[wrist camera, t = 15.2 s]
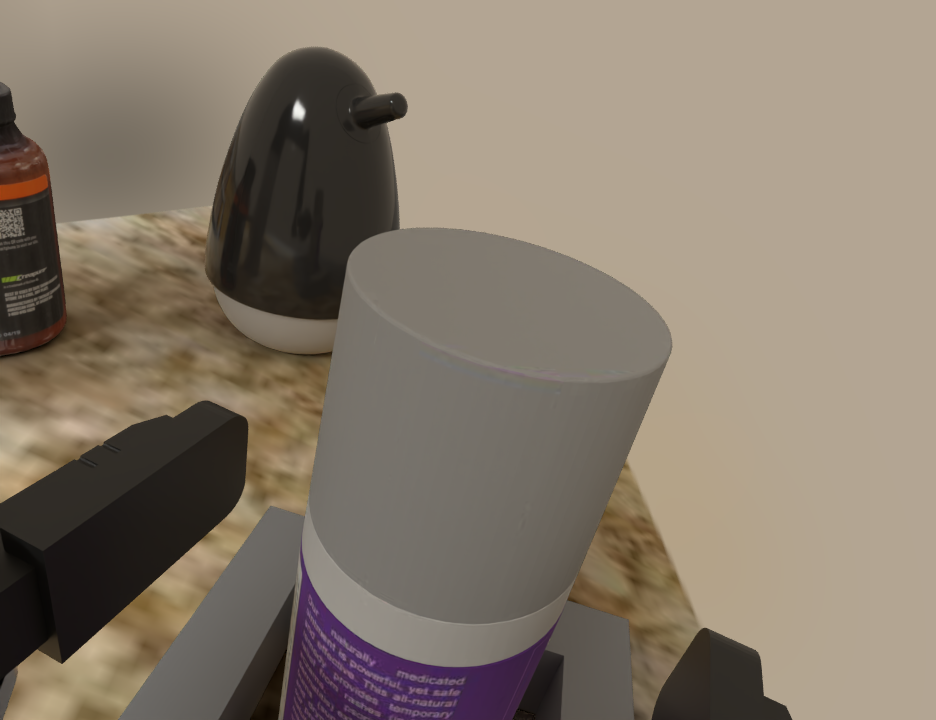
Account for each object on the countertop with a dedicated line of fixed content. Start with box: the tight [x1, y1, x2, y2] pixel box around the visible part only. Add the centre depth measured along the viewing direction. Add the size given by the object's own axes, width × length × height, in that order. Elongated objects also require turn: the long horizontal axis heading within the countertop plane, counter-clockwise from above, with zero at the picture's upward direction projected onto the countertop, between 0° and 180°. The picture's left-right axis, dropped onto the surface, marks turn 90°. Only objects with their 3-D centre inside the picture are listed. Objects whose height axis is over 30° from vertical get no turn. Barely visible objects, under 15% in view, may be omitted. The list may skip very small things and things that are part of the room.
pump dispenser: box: [205, 47, 408, 354], centre depth 32 cm, size 10×10×15 cm
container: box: [278, 228, 672, 720], centre depth 12 cm, size 5×5×15 cm
